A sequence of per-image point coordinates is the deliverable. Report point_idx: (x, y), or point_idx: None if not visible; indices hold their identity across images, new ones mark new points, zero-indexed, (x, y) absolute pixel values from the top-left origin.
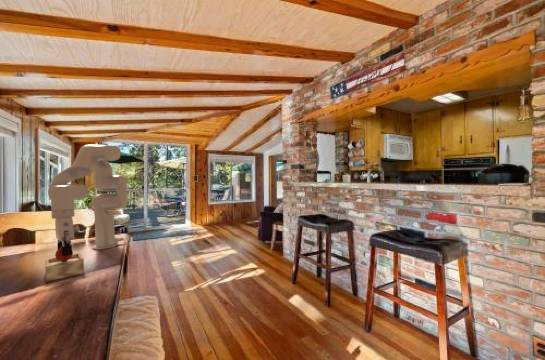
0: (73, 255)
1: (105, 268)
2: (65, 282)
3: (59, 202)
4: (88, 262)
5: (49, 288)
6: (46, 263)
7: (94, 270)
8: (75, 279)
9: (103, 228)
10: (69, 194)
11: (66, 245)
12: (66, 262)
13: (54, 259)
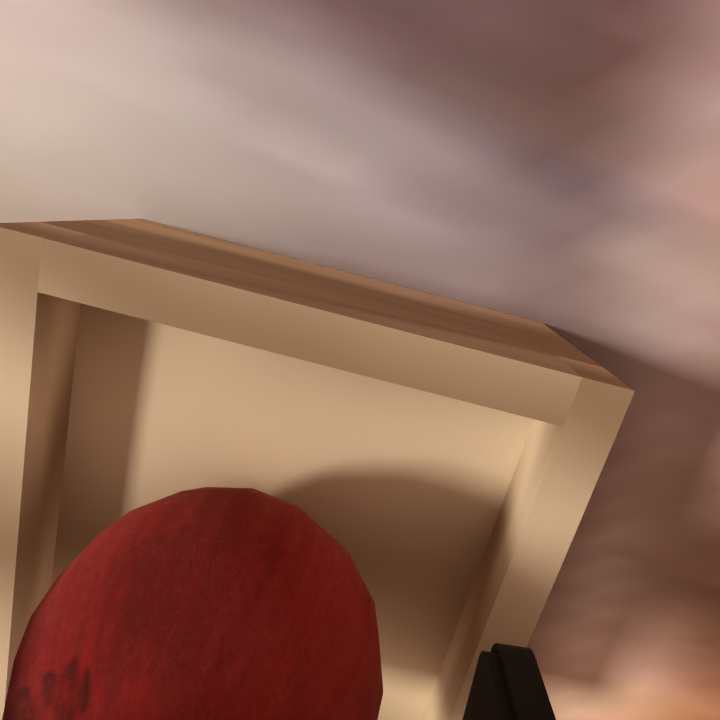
0: (45, 361)
1: (675, 40)
2: (680, 565)
3: None
4: (53, 66)
5: (693, 693)
6: None
7: (589, 192)
8: (698, 476)
9: None
10: None
11: None
12: (529, 631)
13: (29, 616)
